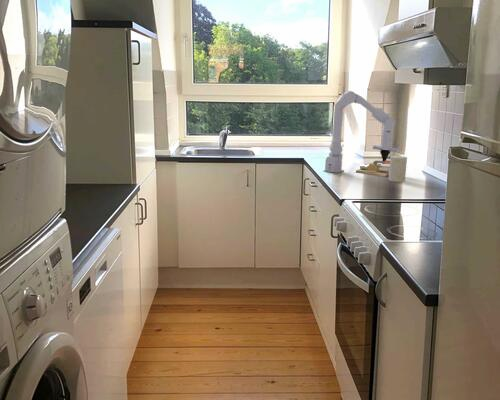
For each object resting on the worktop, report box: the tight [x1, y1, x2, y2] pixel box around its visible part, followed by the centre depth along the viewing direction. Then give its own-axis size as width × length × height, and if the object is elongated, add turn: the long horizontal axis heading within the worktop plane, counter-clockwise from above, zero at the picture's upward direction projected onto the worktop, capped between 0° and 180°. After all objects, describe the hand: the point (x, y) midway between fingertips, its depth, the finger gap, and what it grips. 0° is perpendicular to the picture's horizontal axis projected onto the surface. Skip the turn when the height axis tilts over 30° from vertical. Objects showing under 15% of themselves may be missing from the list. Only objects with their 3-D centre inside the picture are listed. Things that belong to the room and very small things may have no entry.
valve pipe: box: [359, 162, 390, 173], centre depth 305 cm, size 4×16×4 cm, turn 53°
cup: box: [388, 155, 408, 183], centre depth 285 cm, size 8×8×12 cm
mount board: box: [355, 168, 389, 177], centre depth 306 cm, size 10×17×1 cm, turn 53°
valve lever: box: [372, 159, 390, 165], centre depth 304 cm, size 12×2×2 cm, turn 83°
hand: (384, 163), depth 306 cm, fingers closed, pressing on valve lever
